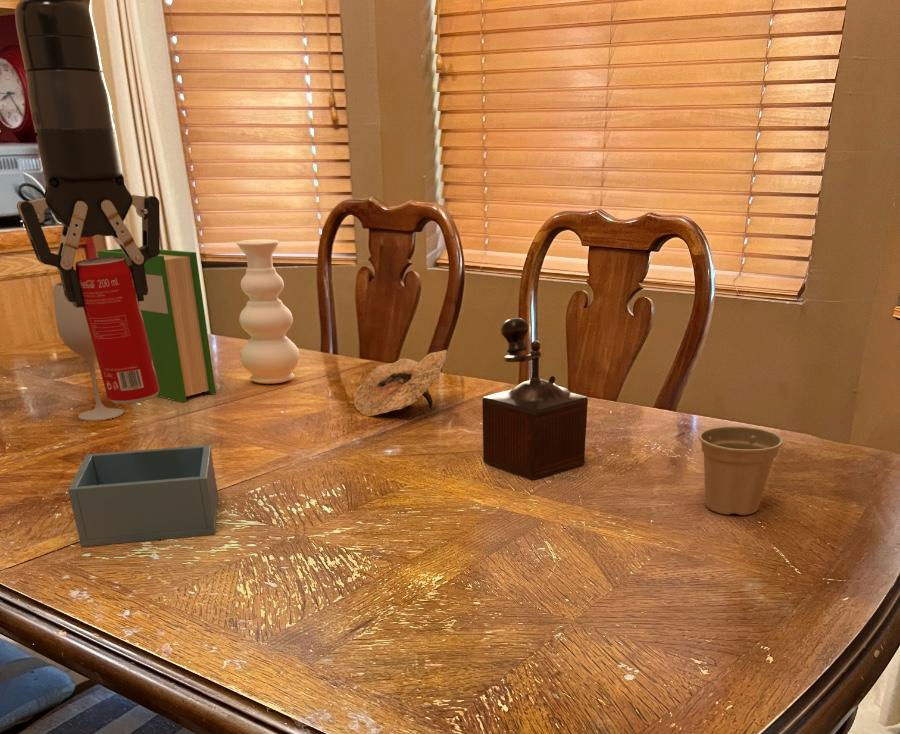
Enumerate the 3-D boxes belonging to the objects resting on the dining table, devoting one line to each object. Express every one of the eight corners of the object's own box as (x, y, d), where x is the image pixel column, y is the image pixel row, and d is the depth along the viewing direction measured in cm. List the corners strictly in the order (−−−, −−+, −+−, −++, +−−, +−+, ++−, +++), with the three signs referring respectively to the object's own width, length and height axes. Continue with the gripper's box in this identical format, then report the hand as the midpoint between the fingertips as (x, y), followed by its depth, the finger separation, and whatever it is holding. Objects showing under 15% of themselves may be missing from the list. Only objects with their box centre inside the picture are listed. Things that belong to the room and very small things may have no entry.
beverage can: (169, 397, 98) (146, 257, 91) (116, 409, 94) (87, 263, 87) (144, 389, 102) (120, 253, 95) (91, 399, 98) (62, 258, 91)
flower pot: (679, 512, 102) (687, 442, 98) (703, 488, 109) (712, 421, 105) (760, 527, 98) (772, 454, 94) (779, 501, 105) (791, 432, 101)
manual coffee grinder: (590, 463, 119) (598, 328, 110) (532, 481, 112) (536, 340, 104) (514, 438, 129) (516, 314, 121) (457, 453, 123) (455, 324, 115)
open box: (81, 547, 96) (67, 489, 93) (97, 506, 107) (86, 454, 104) (215, 534, 98) (206, 478, 95) (218, 496, 109) (210, 444, 106)
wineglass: (74, 423, 141) (44, 288, 131) (80, 411, 147) (52, 281, 137) (122, 419, 142) (96, 285, 132) (126, 407, 149) (102, 279, 139)
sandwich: (356, 450, 146) (333, 412, 142) (382, 408, 156) (362, 371, 152) (447, 421, 137) (426, 379, 133) (469, 378, 147) (450, 338, 143)
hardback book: (215, 393, 156) (195, 252, 145) (182, 402, 151) (158, 256, 140) (157, 380, 166) (133, 247, 155) (123, 388, 161) (97, 251, 150)
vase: (233, 380, 165) (214, 240, 153) (281, 371, 171) (267, 236, 160) (263, 390, 158) (246, 244, 146) (312, 380, 164) (300, 239, 153)
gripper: (138, 126, 91) (165, 293, 99) (-10, 127, 85) (31, 305, 92) (158, 124, 86) (185, 301, 93) (1, 124, 79) (44, 315, 87)
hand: (108, 302), depth 93 cm, fingers closed on beverage can, 5 cm apart
